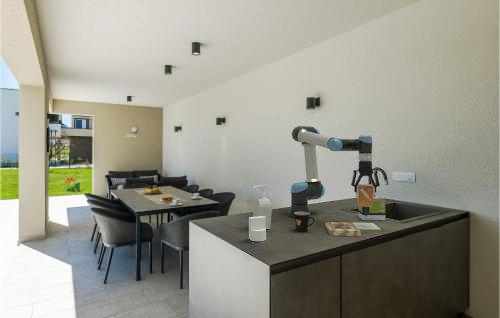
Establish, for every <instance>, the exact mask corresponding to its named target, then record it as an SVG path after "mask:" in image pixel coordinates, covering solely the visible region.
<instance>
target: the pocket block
mask: <svg viewBox="0 0 500 318" xmlns="http://www.w3.org/2000/svg"><path fill="white" fill-rule="evenodd" d="M353 223H354V222H338V221H337V222H336V221H333V222H332V221H326V222H325V226H324V227H325V229H326V231H327V232H328V234H329V236H330V237H354V238H355V237H357V238H359V237H361V231H362V230H359V229H358V228H357V227H356V226H355V225H354V224H353Z"/></svg>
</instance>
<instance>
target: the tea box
mask: <svg viewBox="0 0 500 318" xmlns="http://www.w3.org/2000/svg"><path fill="white" fill-rule="evenodd" d="M357 207H358V209H357V212H358V213H357V216H358V218H359V219H361V220H362V221H386V198H384V197H382V196H375V198H373V207H362V206H358V205H357Z"/></svg>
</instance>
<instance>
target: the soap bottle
mask: <svg viewBox="0 0 500 318" xmlns="http://www.w3.org/2000/svg"><path fill="white" fill-rule="evenodd" d="M256 188H259V192H258V197H255V198H253V201H252V203H251V205H252V206H251V207H252V217H258V216H265V217H266V229H270V230H271V222H272V216H273V215H272V213H273V204H272V202H271V200H270V199H269V198H268V197H266V192H264V189H266V188H267V186H264V185H254V186H253V187H252V189H253V190H254V189H256Z"/></svg>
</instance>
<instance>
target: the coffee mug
mask: <svg viewBox="0 0 500 318" xmlns="http://www.w3.org/2000/svg"><path fill="white" fill-rule="evenodd" d="M294 215H295V218H294V223H295V230H297V232H299V231H300V233H305V232H308V227H310V226H312V225H313V224H314V223H315V218H314V217H312V216H310V217H309V213H307V212H295V213H294ZM310 219H312V221H313V222H311V223H310V224H309V220H310Z"/></svg>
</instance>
